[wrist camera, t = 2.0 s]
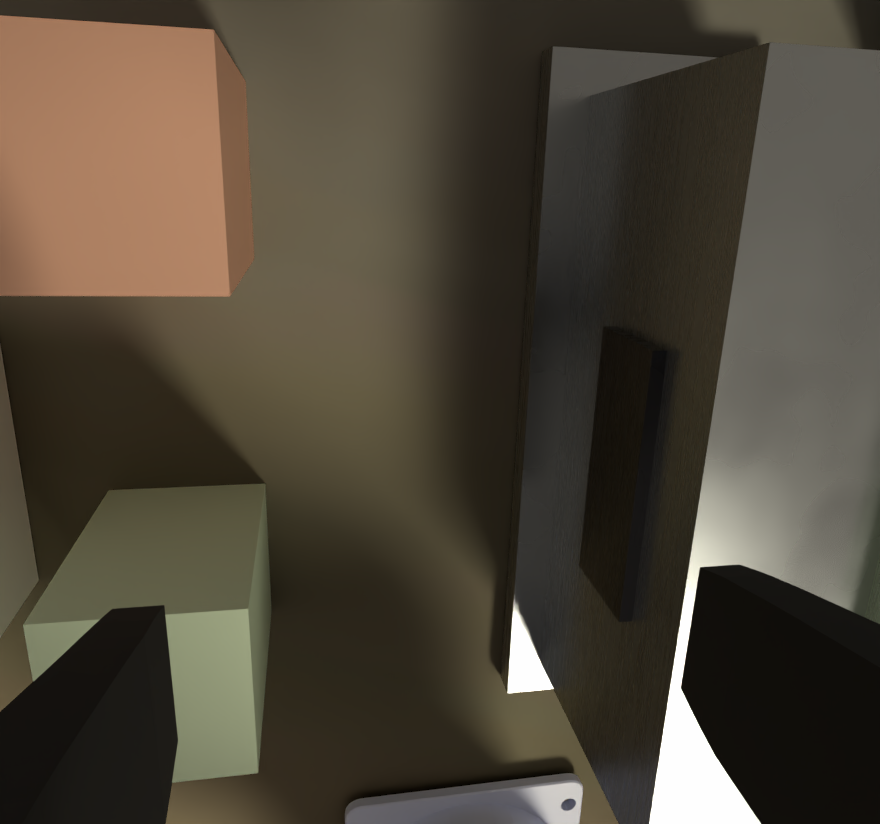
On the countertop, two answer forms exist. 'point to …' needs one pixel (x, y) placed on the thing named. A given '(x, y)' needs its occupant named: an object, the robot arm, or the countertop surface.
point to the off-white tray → (12, 520)
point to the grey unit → (690, 383)
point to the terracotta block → (121, 161)
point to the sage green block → (178, 608)
